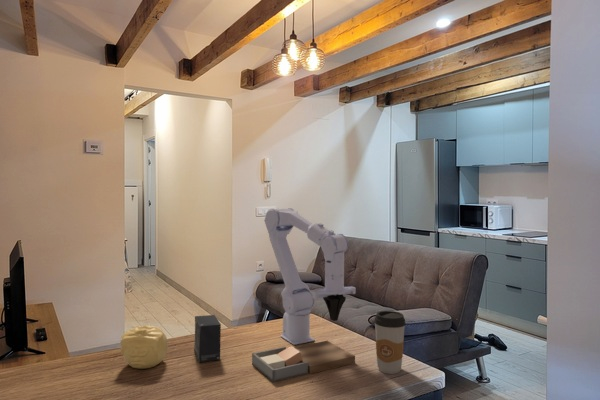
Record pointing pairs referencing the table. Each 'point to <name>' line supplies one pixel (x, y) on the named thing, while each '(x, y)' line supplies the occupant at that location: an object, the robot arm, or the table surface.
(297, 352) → the terracotta tile
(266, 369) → the tray
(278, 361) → the cream tile
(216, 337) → the small box
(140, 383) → the table surface
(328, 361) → the board
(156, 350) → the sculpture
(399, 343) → the coffee cup
